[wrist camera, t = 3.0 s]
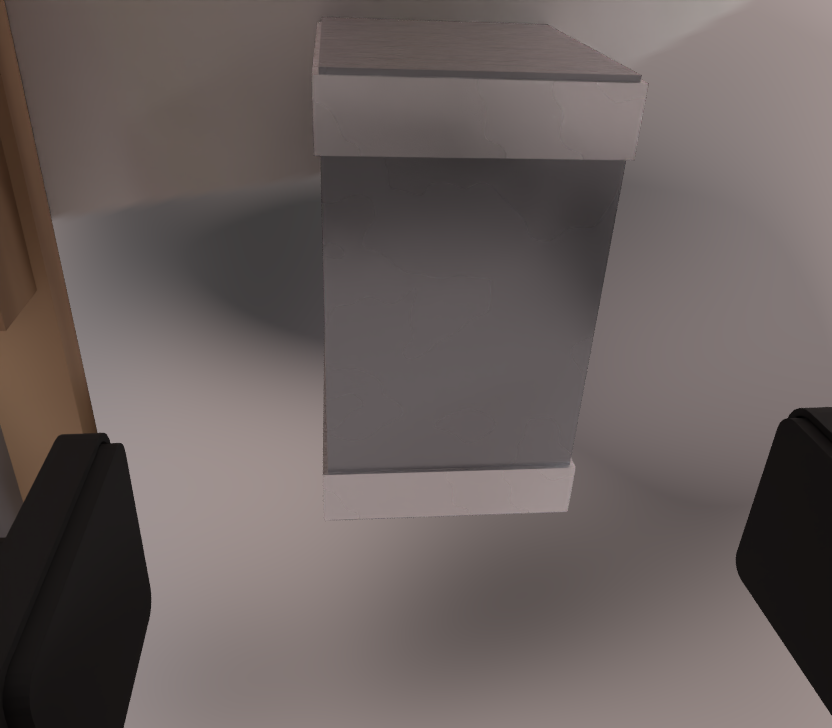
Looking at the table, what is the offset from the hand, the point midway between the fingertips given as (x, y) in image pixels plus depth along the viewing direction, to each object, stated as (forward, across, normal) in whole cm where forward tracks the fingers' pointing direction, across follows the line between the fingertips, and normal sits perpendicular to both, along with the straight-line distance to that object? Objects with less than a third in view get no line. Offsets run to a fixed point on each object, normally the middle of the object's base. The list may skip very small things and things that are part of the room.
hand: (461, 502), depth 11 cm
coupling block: (+10, -1, -1) cm, 10 cm away
